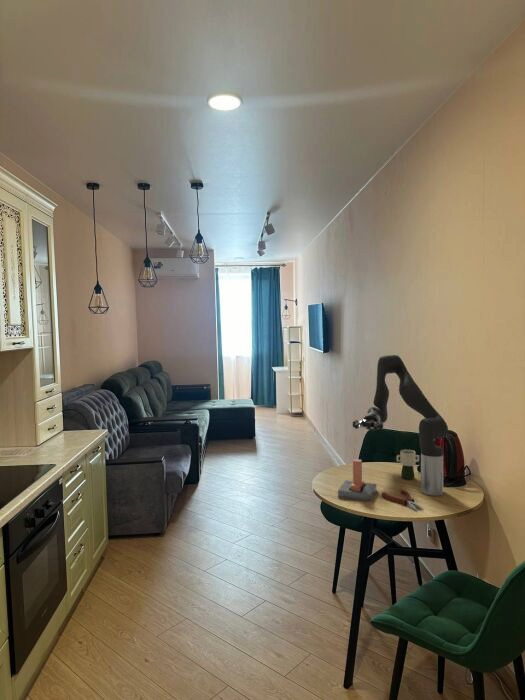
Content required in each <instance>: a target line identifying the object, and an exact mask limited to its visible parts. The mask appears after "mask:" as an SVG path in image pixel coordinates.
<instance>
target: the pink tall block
mask: <svg viewBox="0 0 525 700" xmlns="http://www.w3.org/2000/svg"><path fill="white" fill-rule="evenodd" d="M362 465H363V460H362V459H358V458H354V459H353V461H352V481H353V483H352V484H351V491H357V492H361V486H363V487H364V483H365V480H364V479H363V476H362V475H363V473H362V472H363V467H362Z"/></svg>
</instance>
